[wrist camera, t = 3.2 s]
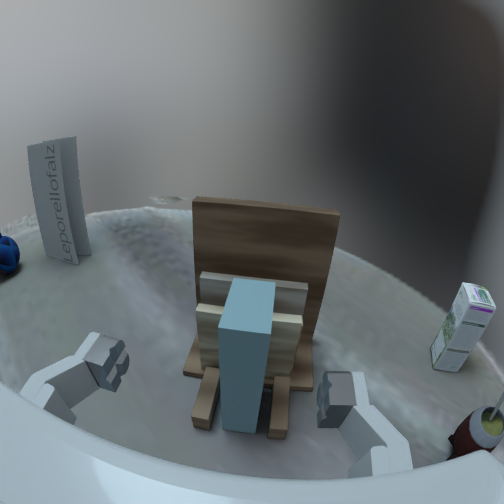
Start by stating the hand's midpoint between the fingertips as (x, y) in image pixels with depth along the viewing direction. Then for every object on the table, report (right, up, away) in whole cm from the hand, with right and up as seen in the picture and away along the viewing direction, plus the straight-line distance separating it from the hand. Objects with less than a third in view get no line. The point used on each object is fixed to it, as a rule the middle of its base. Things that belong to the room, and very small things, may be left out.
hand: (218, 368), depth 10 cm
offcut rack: (+1, -13, +27) cm, 30 cm away
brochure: (-47, +3, +52) cm, 70 cm away
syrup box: (+35, -15, +28) cm, 47 cm away
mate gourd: (+30, -23, +13) cm, 40 cm away
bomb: (-62, -1, +42) cm, 75 cm away
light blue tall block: (0, -16, +22) cm, 27 cm away
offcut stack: (+1, -11, +28) cm, 30 cm away
